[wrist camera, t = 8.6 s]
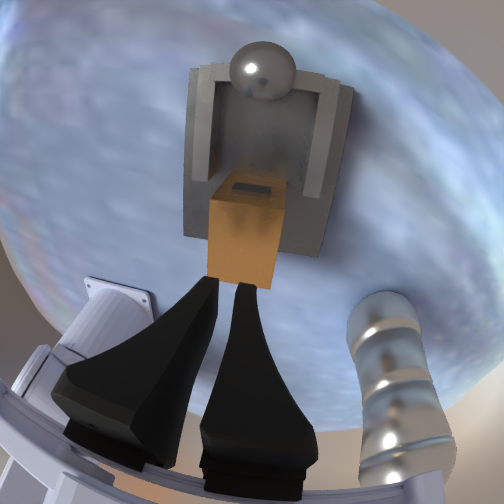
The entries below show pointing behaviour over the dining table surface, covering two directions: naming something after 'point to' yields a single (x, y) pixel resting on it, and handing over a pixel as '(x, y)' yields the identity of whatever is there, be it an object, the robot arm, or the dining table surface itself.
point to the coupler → (265, 138)
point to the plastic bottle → (396, 394)
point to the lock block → (245, 229)
